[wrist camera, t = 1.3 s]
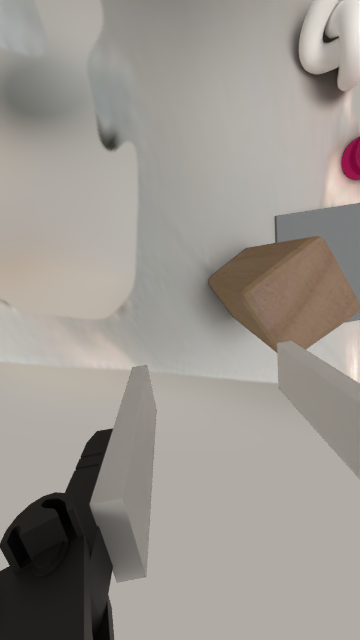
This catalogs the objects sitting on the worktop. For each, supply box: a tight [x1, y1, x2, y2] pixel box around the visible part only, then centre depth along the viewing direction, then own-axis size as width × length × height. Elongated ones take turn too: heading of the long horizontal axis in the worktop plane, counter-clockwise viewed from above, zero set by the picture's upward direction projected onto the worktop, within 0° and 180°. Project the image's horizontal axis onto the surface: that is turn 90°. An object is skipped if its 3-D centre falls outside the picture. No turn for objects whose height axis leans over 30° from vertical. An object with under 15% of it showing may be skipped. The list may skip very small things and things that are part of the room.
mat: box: [275, 203, 360, 322], centre depth 42 cm, size 22×22×1 cm
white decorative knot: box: [299, 0, 360, 91], centre depth 29 cm, size 11×12×9 cm
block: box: [208, 236, 360, 352], centre depth 32 cm, size 10×10×20 cm
